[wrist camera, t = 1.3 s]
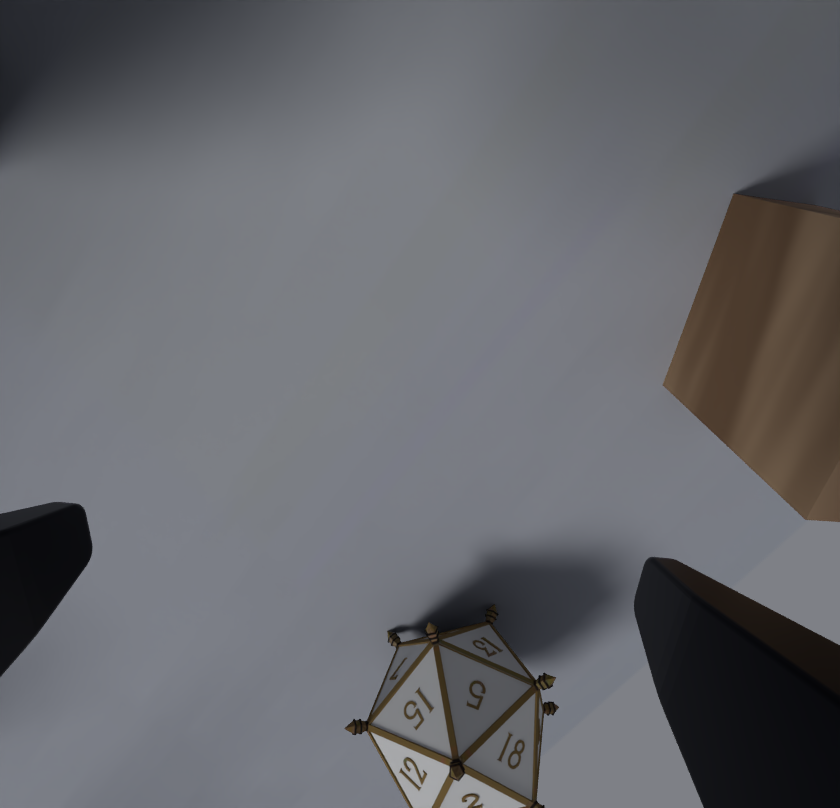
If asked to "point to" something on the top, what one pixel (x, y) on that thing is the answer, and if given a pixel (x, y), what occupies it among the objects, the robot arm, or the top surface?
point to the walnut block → (770, 348)
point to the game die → (460, 720)
